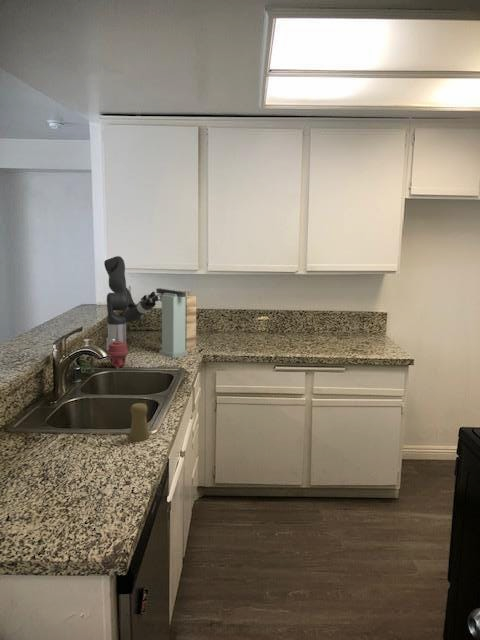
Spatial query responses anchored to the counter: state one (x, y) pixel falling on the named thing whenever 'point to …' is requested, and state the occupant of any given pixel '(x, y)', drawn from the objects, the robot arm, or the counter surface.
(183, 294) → the lever bar
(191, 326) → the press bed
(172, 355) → the frame
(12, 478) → the counter surface
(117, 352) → the mechanical component
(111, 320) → the robot arm
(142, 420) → the cork
